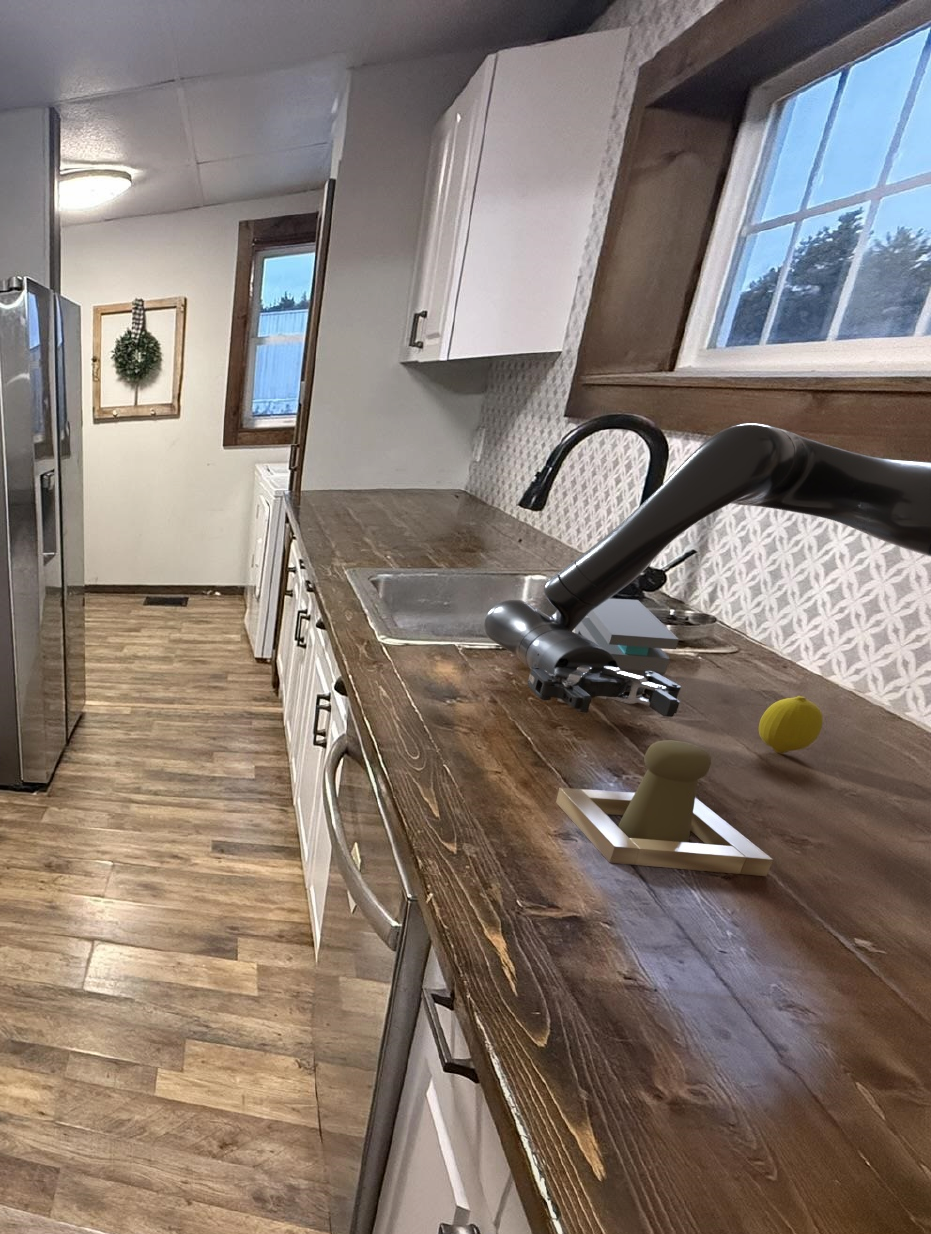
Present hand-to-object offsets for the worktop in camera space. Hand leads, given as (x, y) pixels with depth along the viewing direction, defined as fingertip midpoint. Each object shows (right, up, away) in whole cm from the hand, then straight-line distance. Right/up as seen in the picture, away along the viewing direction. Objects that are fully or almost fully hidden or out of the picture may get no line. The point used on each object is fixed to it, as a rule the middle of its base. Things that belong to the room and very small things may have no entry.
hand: (628, 707), depth 90 cm
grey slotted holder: (+29, +5, +38) cm, 48 cm away
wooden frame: (-2, -14, -6) cm, 16 cm away
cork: (-2, -14, -6) cm, 16 cm away
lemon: (+29, -6, +11) cm, 32 cm away
